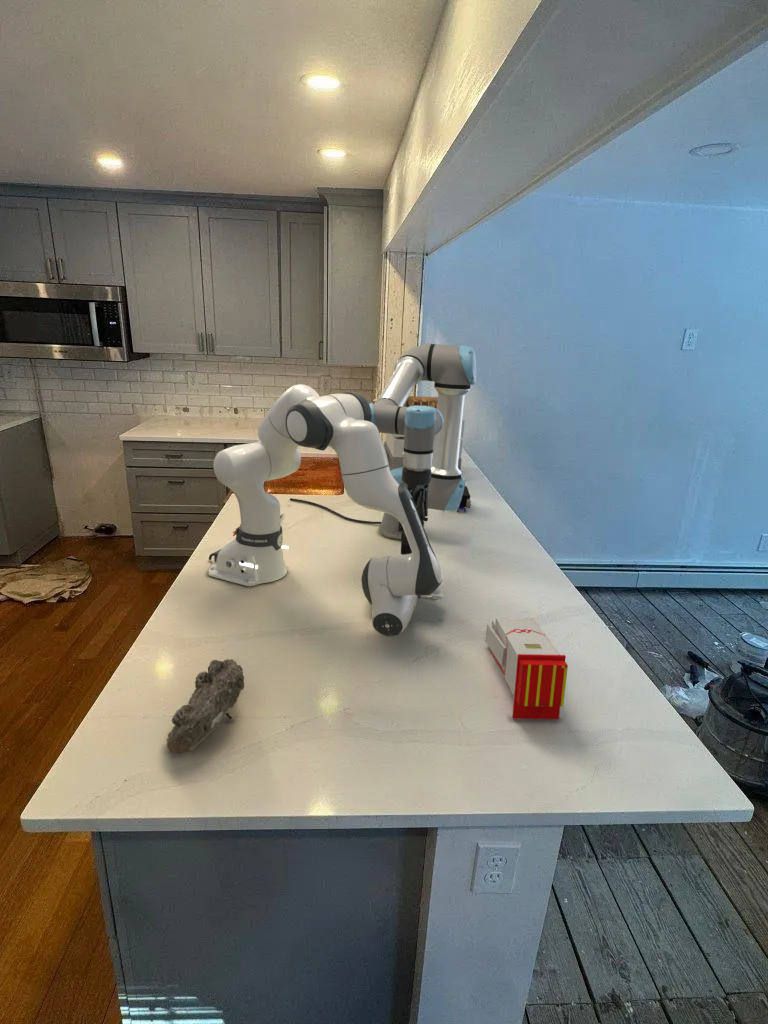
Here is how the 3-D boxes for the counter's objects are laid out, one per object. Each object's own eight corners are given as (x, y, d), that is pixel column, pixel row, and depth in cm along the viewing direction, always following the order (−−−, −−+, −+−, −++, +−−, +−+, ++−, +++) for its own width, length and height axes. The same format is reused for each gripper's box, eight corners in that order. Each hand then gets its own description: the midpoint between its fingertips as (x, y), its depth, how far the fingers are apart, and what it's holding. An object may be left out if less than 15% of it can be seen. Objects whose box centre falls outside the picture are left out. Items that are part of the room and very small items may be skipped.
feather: (290, 508, 223) (292, 504, 223) (272, 532, 197) (275, 527, 196) (286, 505, 223) (289, 501, 223) (268, 529, 197) (271, 525, 196)
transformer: (382, 463, 289) (386, 382, 275) (445, 464, 293) (451, 384, 279) (390, 482, 257) (394, 392, 243) (460, 483, 261) (468, 394, 247)
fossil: (192, 660, 117) (244, 628, 112) (224, 691, 120) (276, 661, 115) (142, 746, 98) (202, 712, 93) (182, 779, 101) (242, 748, 96)
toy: (531, 603, 136) (576, 661, 106) (526, 655, 139) (569, 725, 109) (481, 602, 135) (512, 660, 106) (477, 654, 138) (507, 724, 109)
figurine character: (470, 516, 223) (465, 500, 237) (473, 499, 220) (467, 484, 233) (453, 516, 223) (449, 500, 236) (455, 498, 220) (451, 483, 233)
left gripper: (442, 589, 141) (449, 566, 153) (363, 577, 145) (375, 556, 157) (440, 611, 143) (447, 587, 156) (362, 599, 147) (374, 576, 160)
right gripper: (418, 456, 156) (413, 533, 164) (387, 474, 138) (383, 559, 146) (443, 460, 153) (437, 538, 161) (416, 479, 135) (410, 565, 143)
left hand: (410, 571), depth 157 cm, fingers closed on jar, 5 cm apart
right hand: (411, 548), depth 153 cm, fingers open, 8 cm apart
